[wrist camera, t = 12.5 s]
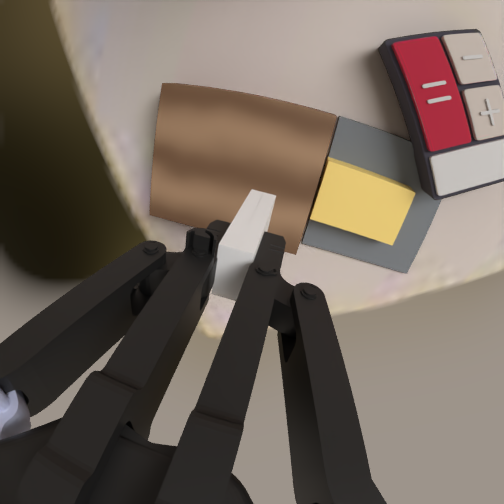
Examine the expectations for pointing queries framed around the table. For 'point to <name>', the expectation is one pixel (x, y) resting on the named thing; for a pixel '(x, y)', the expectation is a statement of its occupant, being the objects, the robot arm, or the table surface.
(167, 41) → the table surface
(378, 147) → the mat
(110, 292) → the robot arm
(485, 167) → the calculator
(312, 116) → the brown wooden slab
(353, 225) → the butter yellow block
